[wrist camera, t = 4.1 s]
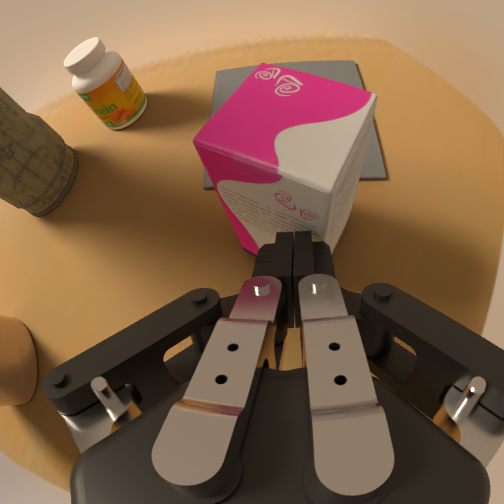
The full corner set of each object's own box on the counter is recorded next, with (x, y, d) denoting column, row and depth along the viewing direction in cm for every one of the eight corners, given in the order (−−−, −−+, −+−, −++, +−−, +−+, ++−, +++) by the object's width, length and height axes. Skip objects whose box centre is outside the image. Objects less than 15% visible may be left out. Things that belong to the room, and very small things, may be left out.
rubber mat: (204, 189, 24) (203, 187, 24) (217, 73, 28) (216, 71, 27) (385, 179, 21) (386, 177, 21) (353, 62, 25) (354, 60, 25)
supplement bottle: (99, 133, 29) (47, 78, 19) (116, 97, 30) (74, 41, 21) (138, 128, 27) (88, 62, 18) (155, 90, 29) (115, 26, 20)
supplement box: (351, 214, 21) (383, 92, 10) (315, 287, 20) (331, 202, 9) (279, 183, 23) (260, 57, 12) (239, 249, 22) (183, 145, 11)
